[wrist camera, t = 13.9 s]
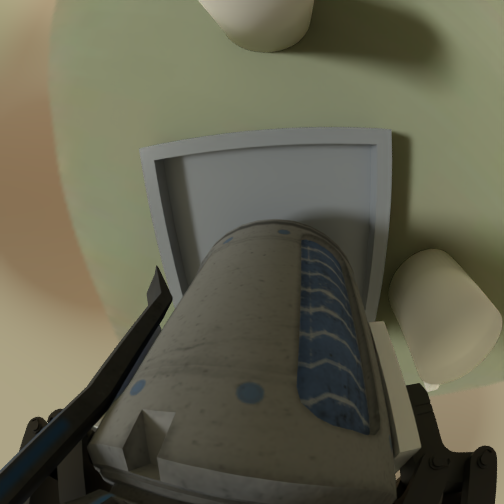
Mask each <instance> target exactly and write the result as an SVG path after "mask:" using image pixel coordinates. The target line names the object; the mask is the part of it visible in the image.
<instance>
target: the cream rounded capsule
mask: <svg viewBox="0 0 504 504" xmlns="http://www.w3.org/2000/svg"><path fill="white" fill-rule="evenodd" d="M198 1H199V2H200V3H201V4H202V6H203V7H204V8H205V9H206V10H207V12H208V13H209V14H210V15H211V16H212V18H213V19H214V20H215V21H216V23H217V24H218V25H219V26H220V28H221V29H222V30H223V32H224V33H225V34H226V36H227V37H228V38H229V39H230V40H231V41H232V42H233V43H235V44H236V45H238V46H240V47H241V48H244V49H246V50H250V51H254V52H264V53H265V52H276V51H280V50H284V49H286V48H289V47H291V46H293V45H294V44H296V43H297V42H298V41H300V40H301V39H302V38H303V37H304V35H305V34H306V32H307V30H308V28H309V25H310V20H311V15H312V10H313V4H314V0H198Z"/></svg>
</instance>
